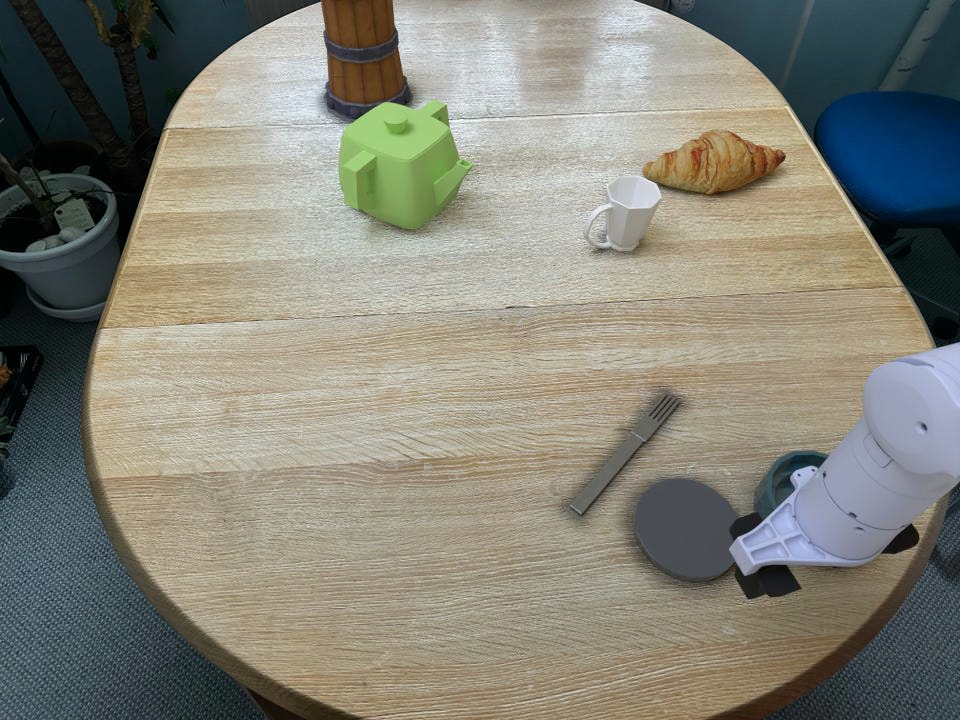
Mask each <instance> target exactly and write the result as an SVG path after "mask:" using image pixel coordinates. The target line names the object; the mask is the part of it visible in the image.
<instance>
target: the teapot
mask: <svg viewBox="0 0 960 720" xmlns="http://www.w3.org/2000/svg"><path fill="white" fill-rule="evenodd" d="M450 127H451V126H450V119H449V111H448V104H446V103H444V102H442V101H440V100H437V99H435V98H434V99H432V100H431V101H429V102H428V103H426V104H425V105H423V106H422V107H421V108H419V109H415V108H412V107H410V106H409V107H406V106H403V105H399V104H395V103H390V102H385V103H382V104H380V105H379V106H377V107H375V108H373V109H372V110H370V111H369V112H367V113H366V114H364V115H363V116H361V117H360V118H359V119H357V120H356V121H354V122H351V123H350V124H349V125H348V126H347V127H345V128H344V130H343V131H342V134H341V139H340V145H339V153H338V163H337V164H338V165H337V171H338V181H339V186H340V189H341V191H342V193H343V203H344V205H347V206H349V207H351V208H353V209H355V210H361V211H363V212H364V213H366V214H368V215H370V216H372V217H373V218H375V219H377V220H380V221H382V222H384V223H388V224H390V225H393V226H396V227H399V228H403V229H407V230H418V229H420V228H421V227H423V226H424V225H426V224H427V223H429V222H430V221H431V220H432V219H433V218H435V217H436V216H437V215H438V214H439V213H441V212H442V211H443V210H444V209H445V208H446V207H448V206H449V204H450V203H451V202H452V201H453V200H454V199H455V198H456V197H457V195H458V193H459V190H460V188H461V186H462V182H463V181H464V179H465V178H466V176H467V175H468V174H469V172H471V170H472V169H473V168H474V163H473V162H471V161H469V160H467V159H466V158H464V157H461V158H460V155H459V151H458V148H457V144H456V141H455V139H454V135H453V133H452V131H451V128H450Z"/></svg>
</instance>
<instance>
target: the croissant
mask: <svg viewBox="0 0 960 720" xmlns="http://www.w3.org/2000/svg"><path fill="white" fill-rule="evenodd" d="M786 158H787V156H786V154H785V152H784V151H783V150H781V149H775V150H773V149H772V148H771V147H768V146H767V145H762V144H757V145H756V144H755V143H754V142H753V141H751V140H749V139H743V138H741V136H739V135H738V134H736V133H734V132H732V131H731V130H724V129H723V130H722V129H717V128H715V129H711V130H707V131H705V132H703V133H702V134H701V135H700V136H699V137H698V138H695V139H690V140H687V141H685V142H684V143H683V144H682V146H680V148H678V149H675V150H672V151H669V152H664V153H662V154H661V155H660V156H659V157H657V159H656V161H648V162H646V163H645V164H644V165H643V166H642V168H641V170H642V171H641V172H642V176H643V177H644V178H645V179H647V180H650V181H652V182H654V183H657V184H662V185H663V186H666V187H670V188H677V189H679V190H683V191H687V192H688V191H690V192H695V193H701V194H706V195H712V194H714V193H717V192H729V191H731V190H732V191H733V190H735V189H739V188H741V187H744V186H745V185H747V184H749V183H752V182H754V181H755V180H757V179H760V178H762V177H765V176H768V175H769V174H772V173H773V171H775V170H776V169H777V168H778V167H779V166H780V165H781V164H783V162H785V161H786Z"/></svg>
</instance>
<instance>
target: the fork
mask: <svg viewBox="0 0 960 720" xmlns="http://www.w3.org/2000/svg"><path fill="white" fill-rule="evenodd" d="M680 402H681V400H680V399H679V398H677V397H676V396H673V395H672V394H671V393H669V392H668V391H665V392H664V393H663V394H662V395H661V396H660V398H659V399H658V400H657V401H656V402H655V404H654V405H653V406H652V407H651V408H650V409H649V410H648V411H647V413H646V414H645V415H644V416H643V417H642V418H641V419H640V421H639V422H638V423H637V424H636V426H634V428H633V429H632V430H631V431H630V433H629V434H630V435H629V436H628V438H627V439H625V441H624V442H623V444H622V445H620V447H619V448H618V449H617V450H616V451H615V453H614V454H613V455H612V456H611V457H610V459H608V460H607V462H606V463H605V464H604V465H603V466H602V467H601V469H600V470H599V471H598V472H597V473H596V474H595V475H594V477H593V478H592V479H591V480H590V481H589V483H588V484H587V485H586V486H585V487H584V488H583V489H582V491H581V492H580V493H579V494H578V495H577V496H576V498H575V499H574V500H572V502H571V503H570V504H569V509H570V510H572V511H573V512H574V513H576V514H578V515H579V516H581V517H582V515H583V514H584V513H585V512H586V511H587V510H588V509H589V507H590V506H591V505H592V504H593V503H594V502H595V500H596V499H597V498H598V496H599V495H600V494H601V493H602V492H603V491H604V490H605V488H606V487H607V486H608V485H609V484H610V482H611V481H612V480H613V479H614V478H615V477H616V475H617V474H618V473H619V472H620V471H621V469H622V468H623V467H624V466H625V465H626V464H627V462H628V461H629V460H630V459H631V458H632V457H633V455H634V454H636V452H637V450H639V449H640V447H641V446H642V445H643V444H646V443H647V442H648V441H649V439H651V437H652V436H653V435H654V433H655V432H656V431H657V430H658V429H659V428H660V427H661V425H662V424H663V423H664V422H665V421H666V420H667V418H668V417H669V416H670V414H672V412H673V411H674V410H675V409H676V408H677V406H678V405H679V404H680Z"/></svg>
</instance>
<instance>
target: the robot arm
mask: <svg viewBox="0 0 960 720" xmlns="http://www.w3.org/2000/svg"><path fill="white" fill-rule="evenodd" d="M861 401H862V402H861V403H862V412H863V415H862V416H861V417H860V418H859V419H858V420H857V422H856V423H855V424H853V426H852V427H851V428H850V430H849V431H848V432H847V433H846V434H845V436H844V437H843V438H842V439H841V441H840V442H839V443H838V444H837V445H836V447H835V448H834V449H833V450H832V451H831V453H830V454H828V455H829V456H828V458H827V459H826V460H825V462H824V463H823V464H822V465H821V466H820V468H819V469H818V468H817V467H814V466H808V467H805V468H802V469H799V470H796V471H795V472H794V473H793V474H792V475H791V477H790V480H791V482H792V484H793V485H794V487H795V491H794V492H793V493H792V494H791V495H790V496H789V497H788V498H787V499H786V500H785V501H784V502H783V503H782V504H781V505H780V506H779V507H778V508H777V509H775V510H774V511H773V512H772V513H771V514H770V515H769V516H768V517H767V518H766V519H765V520H764V521H763V519H762V518H761V516H760V515H759V513H758V512H756V511H755V512H752V513H750V514H746V515H743V516H739V517H738V519H736V520H735V521H734V522H733V524H732V525H731V527H730V529H729V532H730V534H731V537H732V539H733V542H734V543H733V544H732V545H731V547H730V548H729V551H730V552H731V554H732V556H733V557H734V559H735V568H734V569H735V570H734V576H733V577H734V578H735V580H736V583H738V586H739V587H740V589H741V590H742V592H743V594H744V596H745V598H746V599H747V600H754V599H755V600H756V599H757V598H760V597H763V596H765V595H766V596H767V597H769V598H779V597H780V598H781V597H784V596H788V595H790V594H792V593H795V592H798V591H800V590H803V588H802V586H801V584H800V583H799V581H798V580H797V578H796V577H795V575H794V573H793V572H792V570H791V569H790V567H789V566H810V567H811V566H814V567H816V566H817V567H832V568H833V569H838V568H841V567H859V566H863V565H866V564H869V563H870V562H872V561H873V560H874V559H875V558H877V557H878V556H879V555H882V554H883V555H898V554H899V553H902V552H904V551H908V550H910V549H912V548H915V547H916V546H917V545H918V544H919V542H920V534H919V531H918V530H917V528H916V527H915V526H914V524H913V522H914V521H915V520H917V519H918V518H919V517H920V516H921V515H922V514H923V513H925V512H926V511H927V510H928V509H930V508H931V507H932V506H933V505H934V504H935V503H937V502H938V501H939V500H940V499H942V498H943V497H944V496H945V495H946V494H948V493H949V492H950V491H951V490H952V489H954V488H955V487H956V486H957V485H958V484H959V483H960V341H959V342H955V343H951V344H947V345H944V346H940V347H936V348H932V349H928V350H925V351H920V352H916V353H913V354H908V355H905V356H901V357H897V358H894V359H893V360H890V361H887V362H885V363H882V364H879V365H878V366H876V367H875V368H874V369H873V370H872V371H871V372H870V373H869V375H868V376H867V378H866V379H865V382H864V385H863V388H862V398H861Z"/></svg>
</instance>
